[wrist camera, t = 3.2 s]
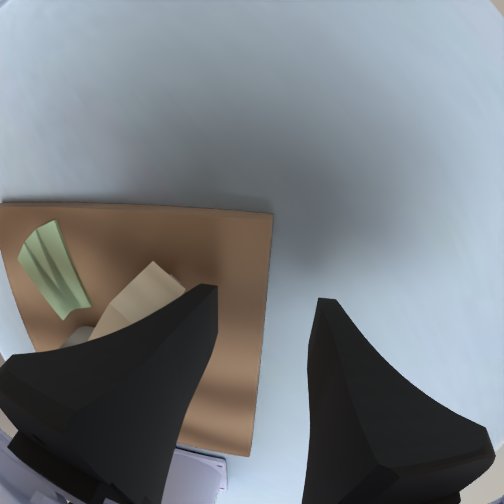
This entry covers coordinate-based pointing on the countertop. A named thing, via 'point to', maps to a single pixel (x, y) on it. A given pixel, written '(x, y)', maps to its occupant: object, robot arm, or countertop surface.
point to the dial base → (128, 268)
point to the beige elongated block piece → (132, 304)
